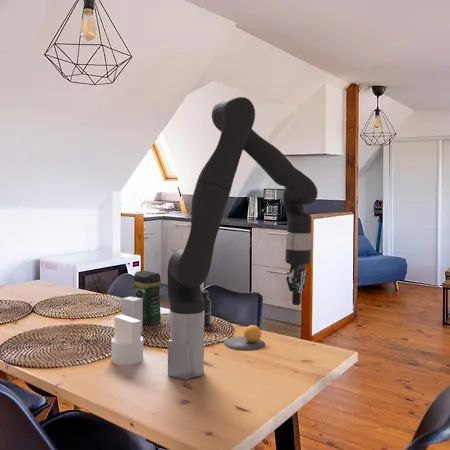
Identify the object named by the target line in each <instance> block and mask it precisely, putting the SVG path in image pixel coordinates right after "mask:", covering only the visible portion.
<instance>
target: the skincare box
mask: <svg viewBox="0 0 450 450" xmlns="http://www.w3.org/2000/svg"><path fill="white" fill-rule="evenodd" d="M121 315H126V316H129V317H132V318H135V319H138V320H141V332H144V331H143V328H144V327H143V325H144V324H143V299H141V298H135V296H127V297H122V298H121Z"/></svg>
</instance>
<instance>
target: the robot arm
mask: <svg viewBox="0 0 450 450" xmlns="http://www.w3.org/2000/svg"><path fill="white" fill-rule="evenodd" d="M255 119H256V110H255V105H254V103H253V102H252V101H251V100H250V99H249V98H247V97H246V96H237V97H232V98H231V97H230V98H225V99H222V100H220V101H218V102H216V103H215V105H214V106H213V108H212V111H211V120H212V122H213V125H214V127H216V129H217V130H218V131H219V132H221V133H220V136H219V140H218V142H217V144H216V147H215V149H214V151H213V153H212V154H211V155H210V157H209V159H208V160H207V161H206V163H205V164H204V166H203V167H202V169H201V171H200V172H199V175H198V177H197V180H196V182H195V187H194V190H193V194H192V197H191V198H192V199H191V209H190V210H191V211H190V212H191V213H190V217H191V218H190V220H191V221H190V231H189V234H188V237H187V240H186V243H185V244H186V245H185V247H184V248H180V249H178V250H176V251H174V253H172V254H171V256H170V258H169V260H168V264H167V269H166V270H167V278H166V279H167V296H168V302H169V340H168V342H167V376H169V377H173V378H178V379H182V380H186V381H188V380H190V379H194V378H198V377H200V376H202V375H203V374H204V372H205V371H204V369H205V368H204V367H205V366H204V365H205V361H204V360H205V342H204V332H205V326H204V311H205V301H204V298H203V296H202V293H201V290H202V289H201V285H203V283H204V282H205V281H206V280H207V278H208V277H209V274H210V270H211V265H212V259H213V255H214V250H215V244H216V239H217V236H218V233H219V231H220V227H221V224H222V220H223V216H224V213H225V210H226V207H227V204H228V201H229V197H230V194H231V191H232V187H233V183H234V179H235V176H236V173H237V169H238V167H239V163H240V159H241V156H242V153H243V151H244V152H246V153H247V155H248V156H250V158H251V159H253V160H254V161H255V163H257V165H259V166H260V167H261V168H262V170H263V171H264V172H265V173H266V174H267V175H268V176H269V178H270V179H271V180H272V181H273V182H274V183H276V185H278V186H281V187H284V189H283V193H282V198H283V204H284V209H285V213H286V217H287V221H286V222H287V226H286V227H287V228H286V236H285V237H286V238H285V255H284V257H285V258H284V260H285V263H286V264H289V265H290V268H289V271H288V275H289V276H286V283H287V286H288V291H289V292H291V293H292V297H291V299H292V300H291V301H292V305H293V306H300V305H301V304H302V292H303V290H305V286H306V282H307V279H308V274H309V272H308V270H306V265H310V264H311V262H312V216H311V214H310V213H308V212H306V211H305V209H304V205H306V206H307V205H310V204H311V205H312V204H313V203H314V202H315V201H316V199H317V197H318V189H317V186H316V184H315V183H314V181H313V180H312V179H311V178H310V177H308V176H307V175H306V174H304V173H303V172H302V171H300V170H299V169H297V168H296V167H295V166H294V165H293V163H292V162H290V160H289V159H288V158H287V157H286V155H285V154H284V153H283V152H281V150H279V149H278V148H277V147H276V146H275V145H273V144H271V143H270V142H269V141H267V139H265V138H263V137H262V136H260V135H259V134H258V133H257V132H255V130H253V127H254V123H255Z"/></svg>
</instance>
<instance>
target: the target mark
mask: <svg viewBox="0 0 450 450" xmlns="http://www.w3.org/2000/svg"><path fill="white" fill-rule="evenodd" d="M223 344H224V346H225V347H227V348H228V349H233V350H237V351H257V350H261V349H263V348H264V347H265V345H266V344H265V342H264V340H261V338H260V339H259V340H258V341H257V342H253V343H252V342H249V341H247V340H246V339H245V337H244V336H235V337H234V336H233V337H230V338H229V337H228V339H227V340H225V341H223Z"/></svg>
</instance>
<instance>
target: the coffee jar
mask: <svg viewBox="0 0 450 450" xmlns="http://www.w3.org/2000/svg"><path fill="white" fill-rule="evenodd" d="M133 284H134V297H135V298H141V299H143V325H154V324H153V323H156V322H158V323H159V321H160V322H161V320H162V319H161V317H162V316H161V300H160V298H161V297H160V295H161V294H160V288H161V285H162V278H161V274H159V272H154V271H150V270H149V271H148V270H139V271H136V272H135V273H134V278H133ZM156 324H157V323H156Z"/></svg>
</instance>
